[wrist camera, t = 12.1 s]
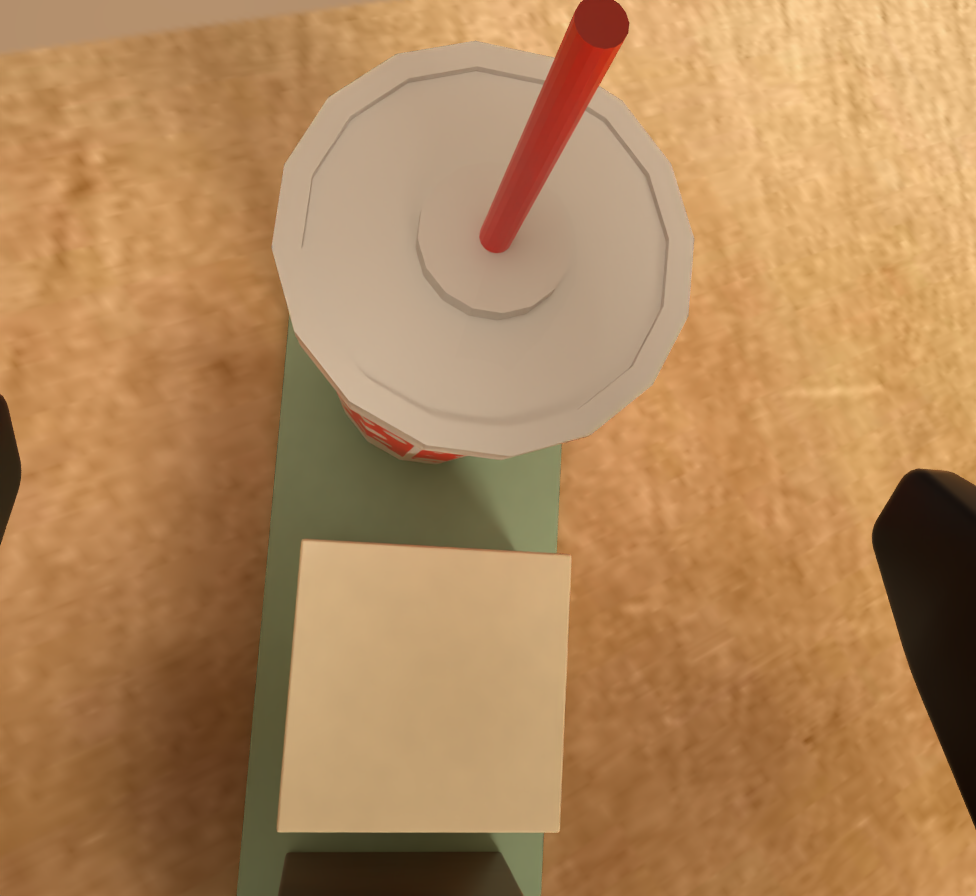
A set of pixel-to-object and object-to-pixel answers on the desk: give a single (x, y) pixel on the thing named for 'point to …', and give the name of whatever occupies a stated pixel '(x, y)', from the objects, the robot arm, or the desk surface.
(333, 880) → the walnut block
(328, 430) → the line mat
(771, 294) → the desk surface
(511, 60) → the beverage cup
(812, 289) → the desk surface
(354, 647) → the cream block
